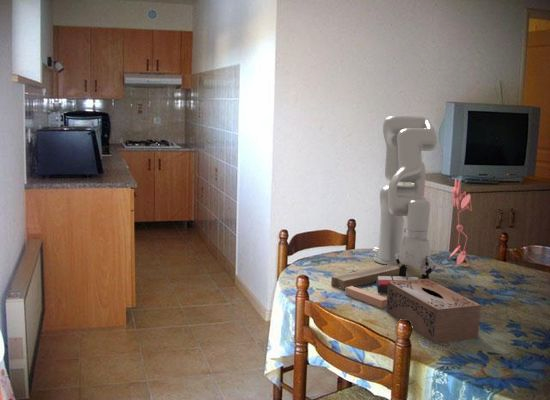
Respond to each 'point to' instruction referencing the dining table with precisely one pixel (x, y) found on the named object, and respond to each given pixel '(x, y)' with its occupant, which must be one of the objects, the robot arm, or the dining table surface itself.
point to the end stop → (366, 296)
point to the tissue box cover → (434, 310)
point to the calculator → (383, 281)
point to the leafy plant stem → (464, 203)
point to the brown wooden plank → (364, 276)
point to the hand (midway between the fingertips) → (413, 281)
